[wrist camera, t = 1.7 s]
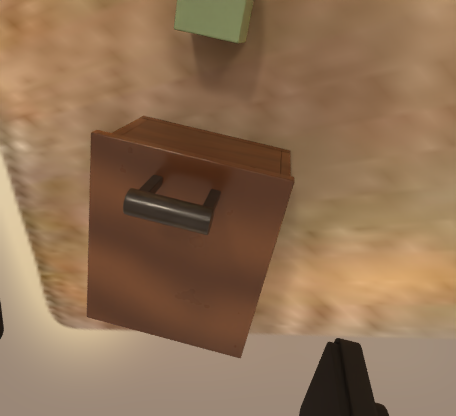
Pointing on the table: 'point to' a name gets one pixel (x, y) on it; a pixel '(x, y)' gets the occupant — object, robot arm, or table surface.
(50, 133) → the table surface
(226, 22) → the block
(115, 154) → the lid
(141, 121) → the chest
